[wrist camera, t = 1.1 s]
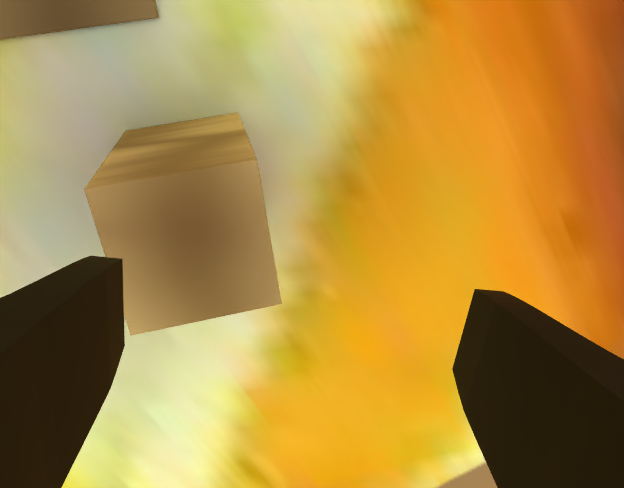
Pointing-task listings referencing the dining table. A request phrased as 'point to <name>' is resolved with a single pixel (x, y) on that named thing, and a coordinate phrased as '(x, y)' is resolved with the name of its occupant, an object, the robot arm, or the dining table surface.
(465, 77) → the dining table surface
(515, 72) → the dining table surface
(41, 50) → the dining table surface
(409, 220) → the dining table surface
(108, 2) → the square peg socket base
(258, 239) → the birch peg
